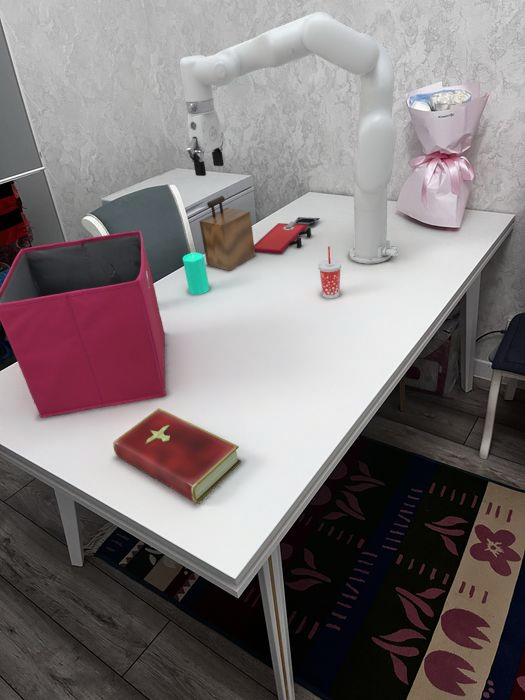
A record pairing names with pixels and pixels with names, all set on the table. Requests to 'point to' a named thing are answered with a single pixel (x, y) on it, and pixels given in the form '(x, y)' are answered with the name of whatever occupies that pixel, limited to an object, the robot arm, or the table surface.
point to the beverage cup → (330, 277)
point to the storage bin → (85, 323)
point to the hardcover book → (178, 454)
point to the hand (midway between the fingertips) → (210, 170)
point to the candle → (196, 273)
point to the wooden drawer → (227, 236)
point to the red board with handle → (285, 236)
